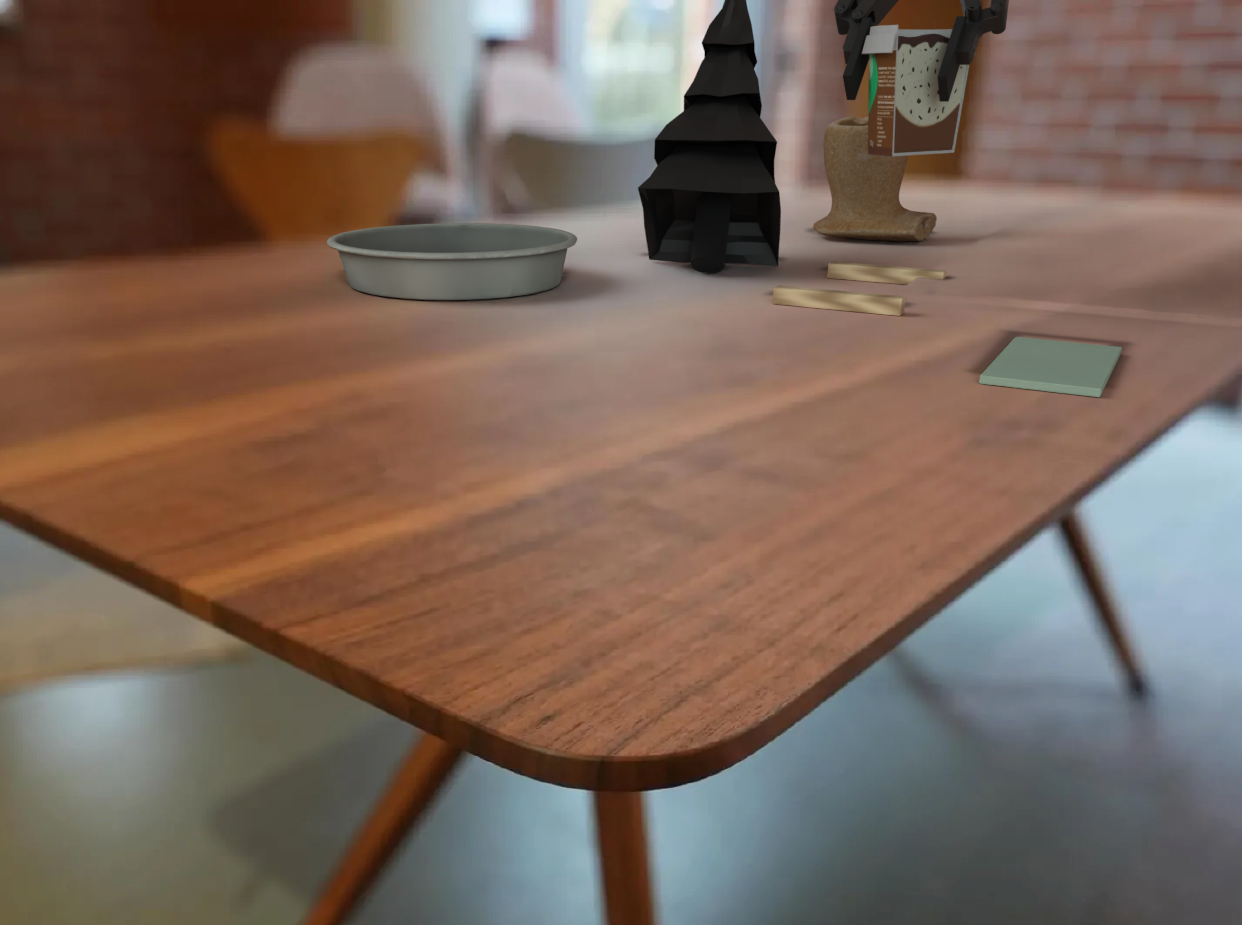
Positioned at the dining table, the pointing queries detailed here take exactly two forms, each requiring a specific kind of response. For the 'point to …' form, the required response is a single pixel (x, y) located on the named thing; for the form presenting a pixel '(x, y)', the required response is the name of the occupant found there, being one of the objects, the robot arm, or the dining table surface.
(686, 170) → the decorative tree
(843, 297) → the rack
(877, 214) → the stone cup
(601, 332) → the dining table surface
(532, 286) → the cake pan
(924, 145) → the food container
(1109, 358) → the mat
